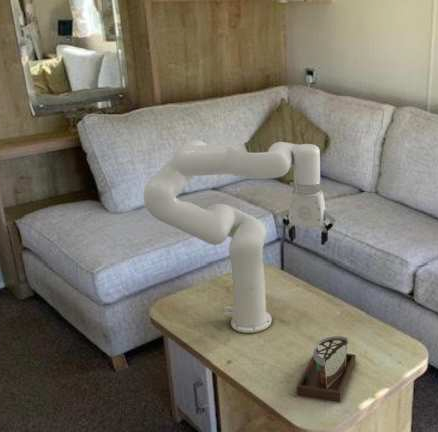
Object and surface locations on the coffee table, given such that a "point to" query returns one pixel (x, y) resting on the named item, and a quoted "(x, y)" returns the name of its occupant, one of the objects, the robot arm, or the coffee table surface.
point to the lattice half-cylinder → (330, 359)
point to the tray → (313, 389)
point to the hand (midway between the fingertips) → (308, 241)
